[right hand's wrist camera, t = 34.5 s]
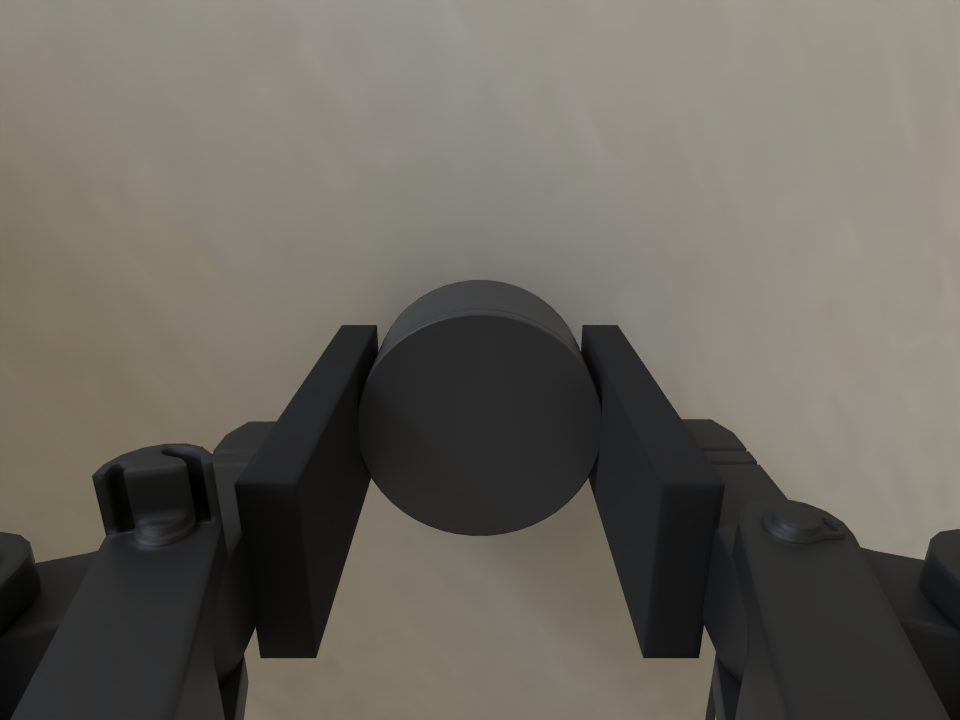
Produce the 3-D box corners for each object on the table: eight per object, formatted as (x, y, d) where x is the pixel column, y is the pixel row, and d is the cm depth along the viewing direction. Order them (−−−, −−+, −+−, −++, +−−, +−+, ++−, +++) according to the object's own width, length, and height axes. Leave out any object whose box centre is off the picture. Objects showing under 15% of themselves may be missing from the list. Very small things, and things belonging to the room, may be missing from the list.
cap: (410, 250, 13) (395, 278, 11) (614, 318, 14) (643, 360, 11) (354, 437, 15) (329, 498, 12) (539, 493, 15) (551, 562, 13)
